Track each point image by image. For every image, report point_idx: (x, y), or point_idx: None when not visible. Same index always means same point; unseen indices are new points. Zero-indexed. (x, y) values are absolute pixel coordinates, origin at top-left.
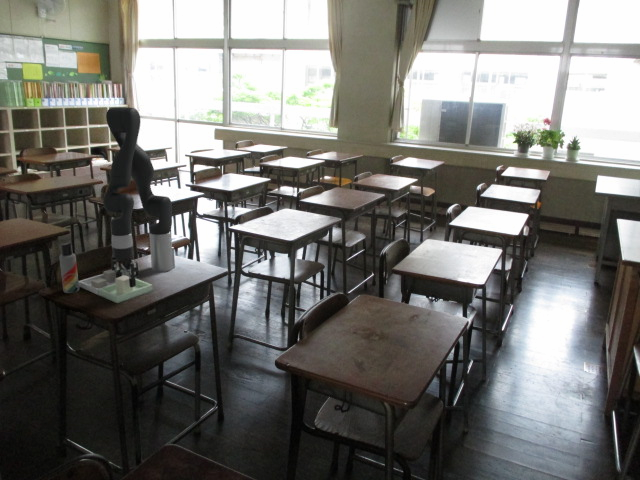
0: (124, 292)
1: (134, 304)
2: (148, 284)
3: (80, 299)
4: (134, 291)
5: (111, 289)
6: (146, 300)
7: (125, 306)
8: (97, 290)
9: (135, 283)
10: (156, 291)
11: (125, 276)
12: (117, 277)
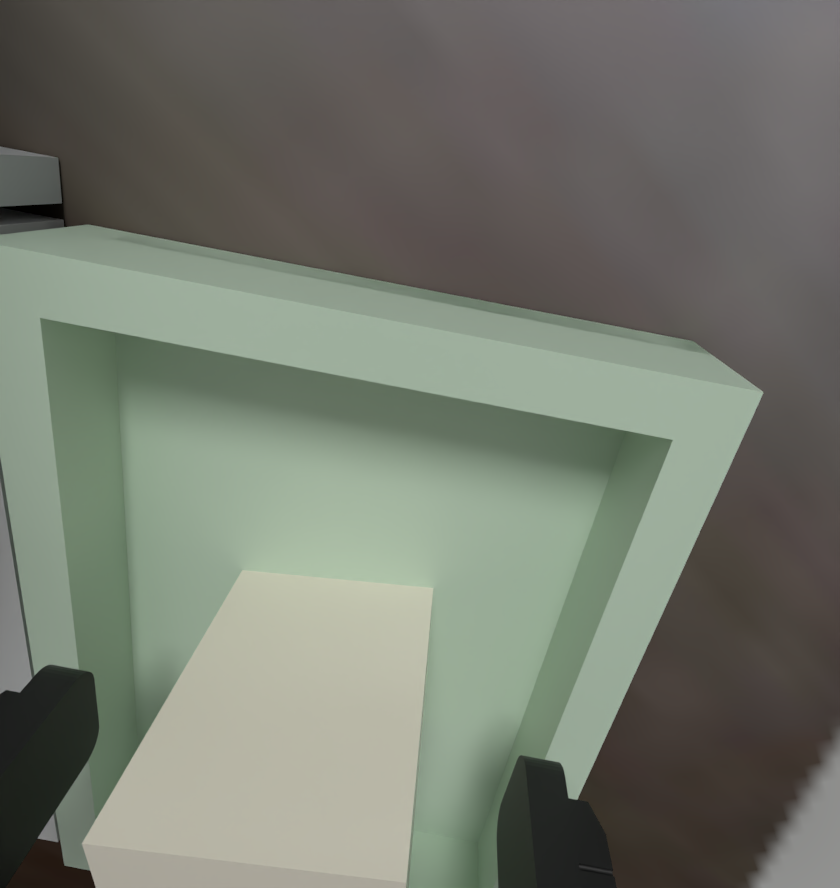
0: (419, 760)
1: (696, 775)
2: (640, 419)
3: (60, 856)
4: (594, 757)
5: (121, 700)
6: (786, 644)
7: (625, 836)
8: (57, 832)
9: (606, 859)
10: (746, 286)
11: (191, 884)
12: (24, 851)
